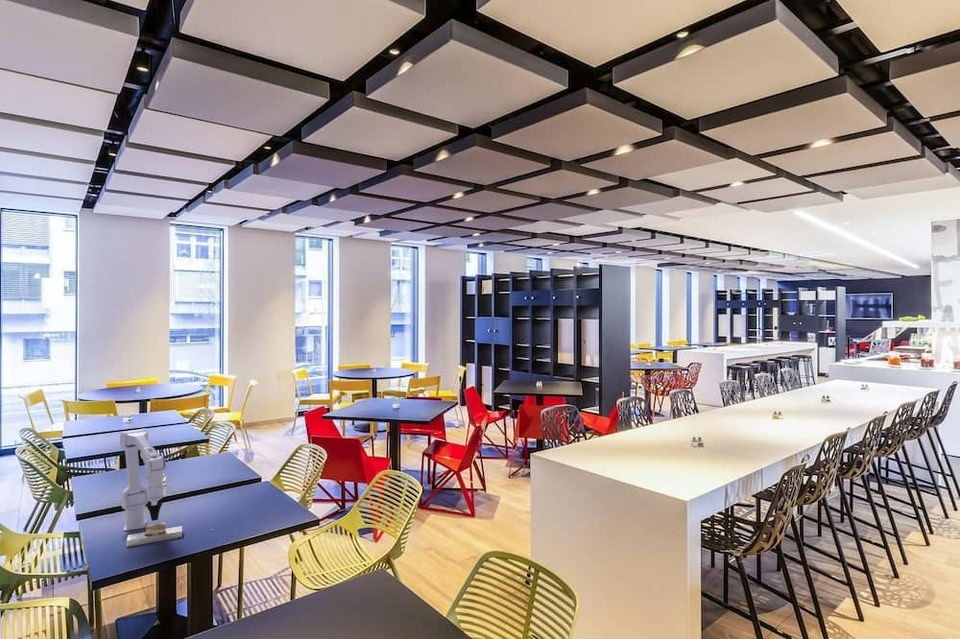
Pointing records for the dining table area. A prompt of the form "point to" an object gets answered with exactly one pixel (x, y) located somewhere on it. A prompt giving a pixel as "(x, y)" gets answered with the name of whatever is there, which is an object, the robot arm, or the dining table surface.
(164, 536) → the grey plate with holes
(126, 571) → the dining table surface
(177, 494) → the dining table surface
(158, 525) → the clip
